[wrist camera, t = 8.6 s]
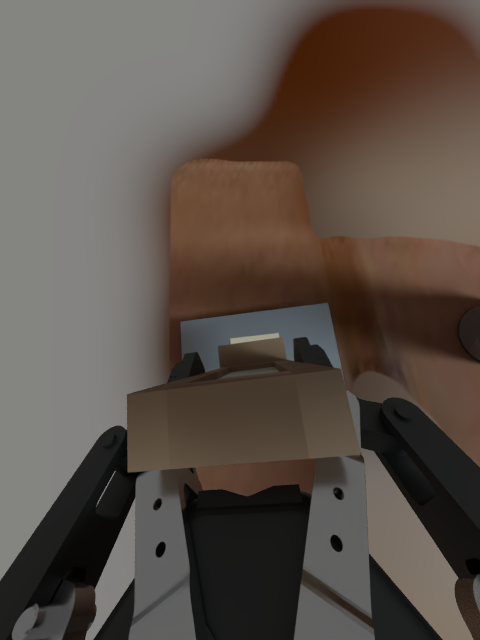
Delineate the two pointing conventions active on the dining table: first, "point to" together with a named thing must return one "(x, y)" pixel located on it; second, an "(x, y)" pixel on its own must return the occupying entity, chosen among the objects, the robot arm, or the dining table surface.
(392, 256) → the dining table surface
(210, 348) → the display step
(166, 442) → the walnut frame
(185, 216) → the dining table surface
